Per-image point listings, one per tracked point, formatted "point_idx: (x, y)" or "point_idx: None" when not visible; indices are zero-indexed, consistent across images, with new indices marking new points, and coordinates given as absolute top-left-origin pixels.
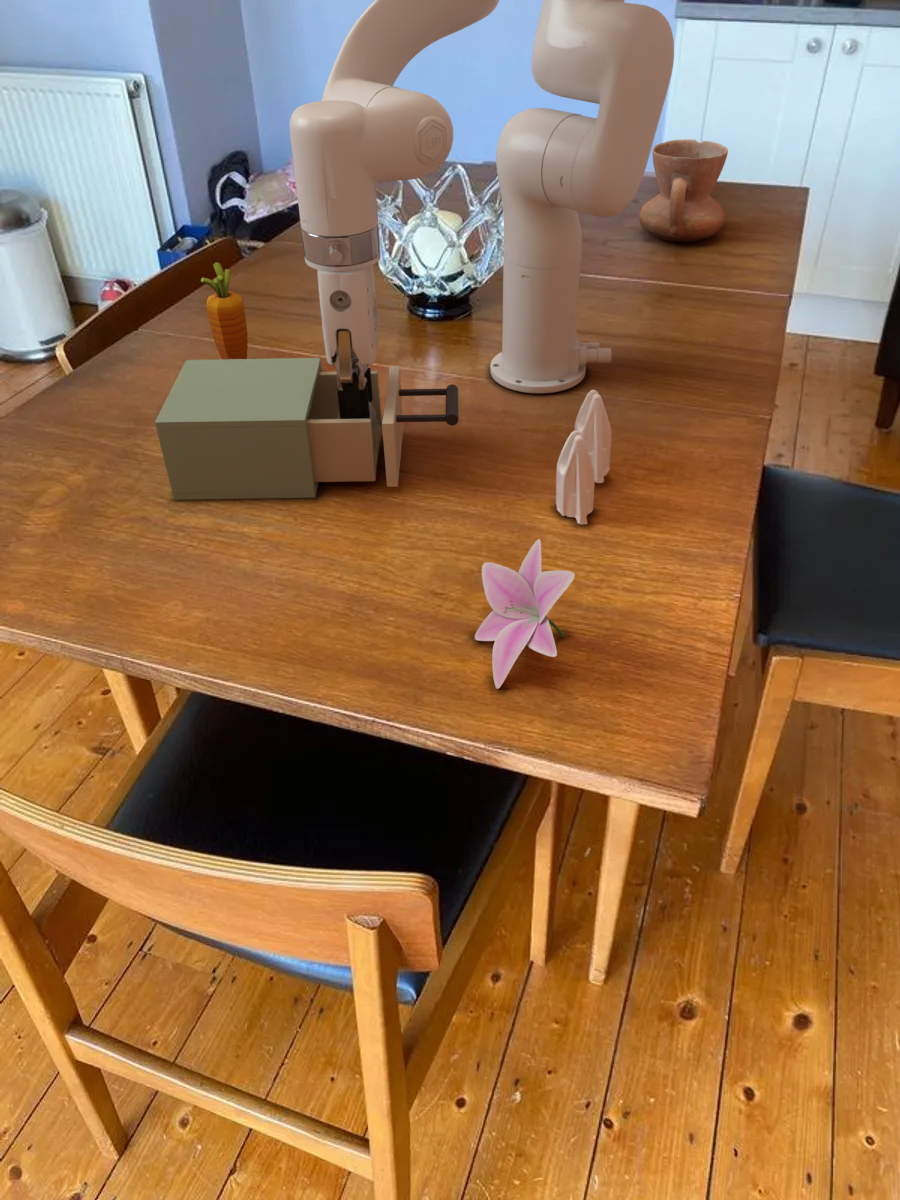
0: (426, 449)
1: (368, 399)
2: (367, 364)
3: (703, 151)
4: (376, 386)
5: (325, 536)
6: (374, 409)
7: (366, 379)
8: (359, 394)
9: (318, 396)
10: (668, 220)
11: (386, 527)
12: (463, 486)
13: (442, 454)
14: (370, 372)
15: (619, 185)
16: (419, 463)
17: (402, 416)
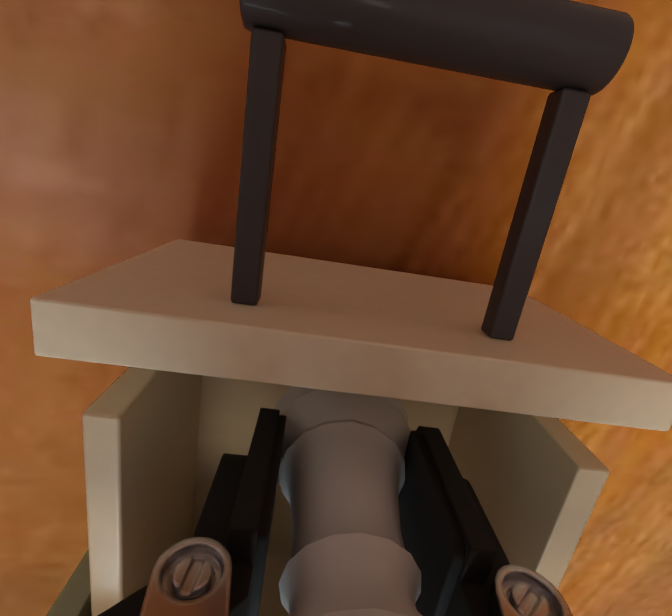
0: (293, 177)
1: (446, 484)
2: (231, 566)
3: None
4: (150, 388)
5: (613, 443)
6: (333, 398)
7: (348, 535)
8: (498, 562)
9: (161, 550)
10: None
11: (634, 323)
12: (526, 91)
13: (331, 129)
14: (244, 507)
15: None
16: (369, 209)
17: (513, 313)
